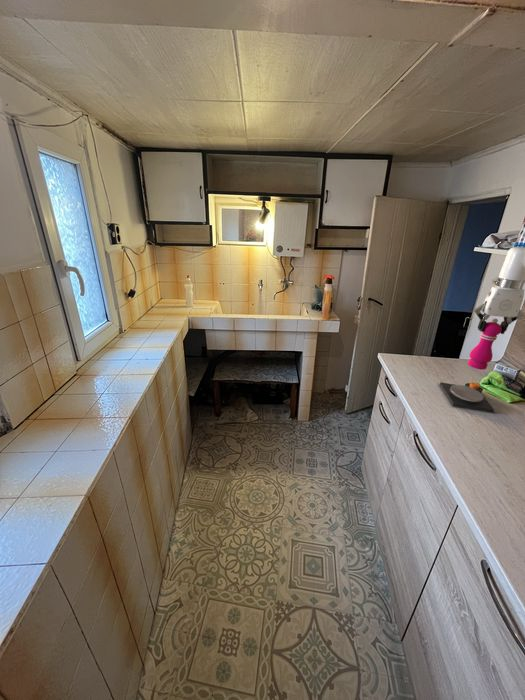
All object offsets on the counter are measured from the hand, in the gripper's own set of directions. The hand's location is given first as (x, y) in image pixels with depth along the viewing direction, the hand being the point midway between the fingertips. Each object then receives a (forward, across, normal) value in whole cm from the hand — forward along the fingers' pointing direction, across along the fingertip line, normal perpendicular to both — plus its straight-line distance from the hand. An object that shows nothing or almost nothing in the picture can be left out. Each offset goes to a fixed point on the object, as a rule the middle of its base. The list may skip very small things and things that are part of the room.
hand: (490, 331), depth 107 cm
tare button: (+25, +2, 0) cm, 25 cm away
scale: (+27, -2, -5) cm, 28 cm away
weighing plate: (+24, -3, -7) cm, 26 cm away
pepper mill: (+15, 0, 0) cm, 15 cm away
